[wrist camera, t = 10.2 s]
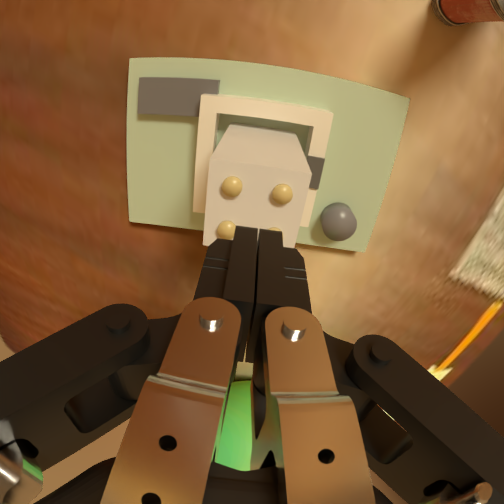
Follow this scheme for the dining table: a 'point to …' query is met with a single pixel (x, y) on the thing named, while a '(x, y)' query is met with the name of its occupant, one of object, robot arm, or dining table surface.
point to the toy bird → (237, 429)
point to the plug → (256, 183)
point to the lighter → (468, 11)
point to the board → (266, 115)
